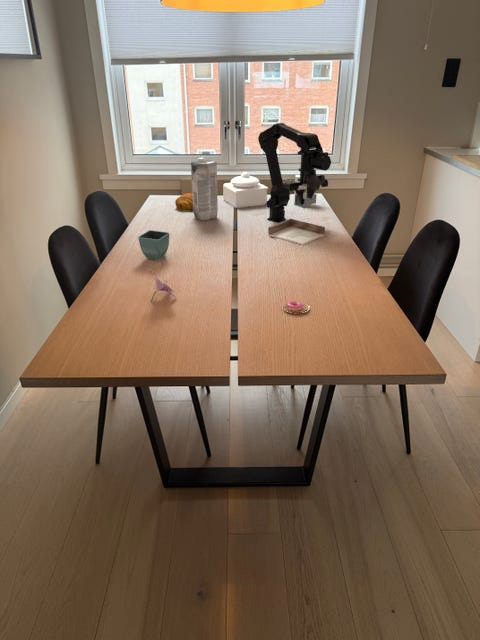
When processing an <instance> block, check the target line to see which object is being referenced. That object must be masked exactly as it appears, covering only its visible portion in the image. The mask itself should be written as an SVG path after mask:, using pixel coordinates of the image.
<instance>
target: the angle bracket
mask: <svg viewBox="0 0 480 640" xmlns="http://www.w3.org/2000/svg"><path fill="white" fill-rule="evenodd" d="M294 196H295V204H296V205H295V206H298V207H300V208H303V209H311V205H314V204H315V205H316V203H317V194H316V193H314V194H313V196H312V199H311V198H309V197H307V193H306V194H303V205H301V204H300V201H299V199H298V196H297V195H295V194H294Z"/></svg>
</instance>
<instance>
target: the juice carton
mask: <svg viewBox="0 0 480 640" xmlns="http://www.w3.org/2000/svg"><path fill="white" fill-rule="evenodd" d="M217 165H218V164H217V162H216V161H212V160H210V159H205V157H198V158H197V161H191V162H190V170H191V171H190V173H191V193H192V196H193V211H192V212H193V217H194V218H196V219H198V220H200V221H207V220H213V219H216V218H218V211H219V209H218V207H219V206H218V205H219V204H218V173H217V172H218V169H217V168H218V167H217Z"/></svg>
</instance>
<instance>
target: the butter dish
mask: <svg viewBox="0 0 480 640" xmlns="http://www.w3.org/2000/svg"><path fill="white" fill-rule="evenodd" d="M268 190H269V187H267V186H266V185H265V184H261V183H260V180H259V179H258V178H257V177H255V176H251V174H250V172H247V171H243V172H242V173H241V175H240V176H235V177H234V178H232V179H231V180H230V182H226V183H224V184H223V185H222V193H223V195H222V198H223V199H224V200H225V202H226V201H227V202H228V203H227V202H226V203H227V204H229V203H230V204H231V206H232V207H233V208H235V209H239V208H247V207H248V206H250V207H256V206H265V204H266V202H267V201H268ZM224 200H223V201H224ZM230 204H229V205H230ZM266 205H267V204H266Z"/></svg>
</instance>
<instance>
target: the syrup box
mask: <svg viewBox="0 0 480 640" xmlns="http://www.w3.org/2000/svg"><path fill="white" fill-rule="evenodd" d="M298 178H300V174H295V180H294V181H295V182H299V181H298ZM303 189H304V190H305V191H304V193H303V194H307V186H303ZM295 195H297V194H296V191H295V190H294V197H293V199H294V200H293V202H294V203H293V205H295V206H297V205H296V204H295Z"/></svg>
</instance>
